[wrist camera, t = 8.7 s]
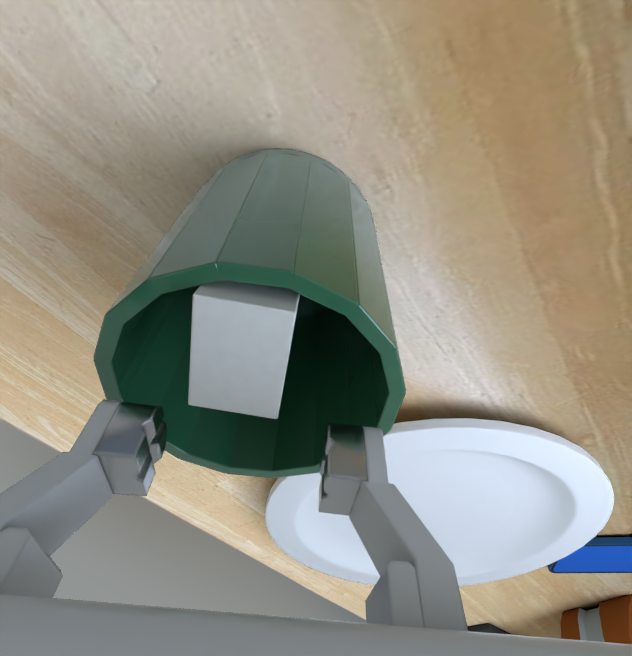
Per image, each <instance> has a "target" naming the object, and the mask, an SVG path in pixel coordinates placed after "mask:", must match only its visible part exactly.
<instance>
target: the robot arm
mask: <svg viewBox="0 0 632 656" xmlns="http://www.w3.org/2000/svg"><path fill="white" fill-rule="evenodd" d="M163 416H164V411H163V407H162V406H155V405H147V404H139V403H131V402H124V401H115V400H105V399H104V400H103V401H101V402H100V403H99V404H98V405H97V407H96V409H95V410H94V412H93V414H92V415H91V417H90V419H89V420H88V422H87V424H86V425H85V427H84V429H83V430H82V432H81V434H80V435H79V437H78V438H77V440H76V442H75V443H74V445H73V447H72V448H71V450H70V452H62V453H61V454H60V455H58V456H56V457H55V458H54V459H52V460H50V461H49V462H48V463H46V464H44V465H43V466H42V467H40V468H38V469H37V470H35V471H34V472H32V473H31V474H29V475H28V476H27V477H25V478H23V479H22V480H20V481H19V482H17V483H16V484H14V485H13V486H11V487H10V488H9V489H7V490H6V491H4V492H2V493H1V494H0V656H632V644H623V643H610V642H598V641H585V640H573V639H560V638H547V637H535V636H522V635H510V634H497V633H485V632H472V631H468V628H467V623H466V619H465V614H464V609H463V605H462V600H461V595H460V591H459V586H458V582H457V577H456V572H455V568H454V564H453V563H452V561H451V560H450V559H449V557H448V556H447V555H446V553H445V552H444V551H443V549H442V548H441V547H440V545H439V544H438V543H437V541H436V540H435V539H434V537H433V536H432V534H431V533H430V532H429V530H428V529H427V528H426V526H425V525H424V524H423V522H422V521H421V520H420V518H419V517H418V516H417V514H416V513H415V512H414V510H413V509H412V508H411V506H410V505H409V503H408V502H407V501H406V499H405V498H404V497H403V495H402V494H401V493H400V491H399V490H398V489H397V487H396V486H395V485H394V484H389V481H388V473H387V465H386V456H385V448H384V440H383V432H382V430H381V428H374V427H362V426H358V425H347V424H336V423H327V425H326V429H325V439H324V440H323V443H322V448H321V456H320V475H321V476H322V478H321V482H320V486H319V512H322V513H330V514H339V515H347V516H349V519H350V520H351V522H352V524H353V526H354V528H355V530H356V532H357V534H358V536H359V537H360V539H361V541H362V543H363V545H364V547H365V549H366V551H367V553H368V554H369V556H370V558H371V560H372V562H373V564H374V566H375V568H376V570H377V571H378V573H379V575H380V578H379V580H378V581H377V583H376V585H375V586H374V588H373V589H372V591H371V593H370V594H369V596H368V598H367V599H366V621H367V622H366V623H359V622H346V621H334V620H321V619H309V618H295V617H284V616H283V617H282V616H271V615H259V614H245V613H234V612H221V611H208V610H196V609H184V608H183V609H182V608H171V607H158V606H145V605H133V604H121V603H108V602H96V601H83V600H71V599H57V598H53V596H54V594H55V592H56V589H57V587H58V585H59V583H60V581H61V579H62V573H61V570H60V569H59V568H58V566H57V565H56V564H55V563H54V561H53V560H52V559H51V558H50V555H51V554H53V553H54V552H55V551H56V550H57V549H58V548H59V547H60V546H61V545H62V544H63V543H64V542H65V541H66V540H67V539H69V538H70V537H71V536H72V535H73V534H74V533H75V532H76V531H77V530H78V529H79V528H80V527H81V526H82V525H83V524H84V523H85V522H86V521H88V519H90V518H91V517H92V516H93V515H94V514H95V513H96V512H97V511H98V510H99V509H100V508H101V507H102V506H104V505H105V504H106V503H107V502H108V501H109V500H110V499H111V498H112V497H113V496H114V495H113V494H122V495H137V496H147V493H148V491H149V488H150V486H151V483H152V481H153V478H154V476H155V468H154V463H156V462H157V461H158V460H159V459H161V458H162V455H163V452H164V449H165V446H166V441H167V425H166V424H165V423H164V422H163V421H162V418H163Z"/></svg>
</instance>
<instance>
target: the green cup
mask: <svg viewBox="0 0 632 656" xmlns="http://www.w3.org/2000/svg"><path fill="white" fill-rule="evenodd" d="M220 280H222V281H230V282H239V283H247V284H256V285H264V286H272V287H281V288H288V289H290V290H292V291H294V292H297V293H299V294H300V298H299V304H298V309H297V315H296V320H295V326H294V331H293V337H292V342H291V348H290V354H289V359H288V365H287V370H286V376H285V381H284V387H283V392H282V398H281V404H280V409H279V415H278V418H277V419H272V418H266V417H260V416H254V415H248V414H242V413H235V412H229V411H223V410H217V409H211V408H205V407H199V406H192V405H189V404H188V393H189V370H190V347H191V324H192V301H193V294H194V293H195V291H196V290H197V289H198V288H199V287H200V286H201V285H203V284H207V283H212V282H216V281H220ZM94 363H95V366H96V369H97V372H98V375H99V378H100V381H101V384H102V387H103V390H104V393H105V396H106V399H107V400H115V401H124V402H131V403H139V404H147V405H155V406H162V407H163V411H164V416H163V418H162V421H163V422H164V423H165V424H166V425H167V441H166V446H165V449H164V450H165V451H167V452H168V453H170V454H172V455H174V456H175V457H177V458H180V459H181V460H184V461H187V462H190V463H194V464H197V465H200V466H203V467H206V468H210V469H213V470H216V471H219V472H222V473H227V474H234V475H245V476H255V477H265V478H281V477H289V476H297V475H305V474H313V473H319V472H320V456H321V448H322V443H323V440H324V439H325V429H326V425H327V423H336V424H347V425H358V426H362V427H374V428H381V430H382V432H383V437H384V436H385V435H386V434H387V433H388V432H389V431H391V429H392V427H393V424H394V422H395V419H396V416H397V414H398V411H399V409H400V406H401V404H402V401H403V399H404V396H405V394H406V388H405V382H404V377H403V372H402V367H401V362H400V356H399V351H398V346H397V341H396V336H395V330H394V325H393V320H392V315H391V310H390V304H389V299H388V294H387V289H386V283H385V278H384V273H383V268H382V263H381V257H380V252H379V247H378V242H377V237H376V232H375V227H374V222H373V217H372V213H371V210H370V209H369V207H368V204H367V202H366V200H365V198H364V197H363V195H362V193H361V192H360V190H359V189H358V188H357V186H356V185H355V184H354V183H353V182H352V180H351V179H350V178H348V177H347V176H346V175H345V174H344V173H343V172H342V171H341V170H339V169H338V168H336V167H335V166H334V165H332V164H331V163H329V162H327V161H325V160H323V159H321V158H319V157H317V156H314V155H311V154H308V153H306V152H301V151H296V150H292V149H265V150H260V151H255V152H251V153H248V154H245V155H243V156H240V157H238V158H236V159H234V160H233V161H231V162H229V163H227V164H226V165H225V166H223V167H222V168H221V169H220V170H218V171H217V172H216V173H215V174H214V176H213V177H212V178H211V179H210V180H209V181H208V182H207V183H206V184H205V185H204V186H203V187H202V188H201V189H200V190H199V191H198V193H197V194H196V195H195V197H194V198H193V199H192V201H191V202H190V203H189V204H188V206H187V207H186V208H185V210H184V211H183V212H182V214H181V215H180V216H179V218H178V219H177V220H176V222H175V223H174V224H173V226H172V227H171V228H170V230H169V231H168V232H167V233H166V235H165V236H164V237H163V239H162V240H161V241H160V243H159V244H158V245H157V247H156V248H155V249H154V251H153V252H152V253H151V255H150V256H149V257H148V259H147V260H146V261H145V263H144V264H143V265H142V266H141V268H140V269H139V270H138V272H137V273H136V274H135V276H134V277H133V278H132V280H131V281H130V282H129V284H128V285H127V286H126V288H125V289H124V290H123V292H122V293H121V294H120V295H119V297H118V298H117V299H116V301H115V302H114V303H113V305H112V306H111V307H110V309H109V310H108V311H107V313H106V314H105V316H104V320H103V323H102V327H101V331H100V334H99V338H98V342H97V346H96V349H95V353H94Z"/></svg>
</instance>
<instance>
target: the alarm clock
mask: <svg viewBox="0 0 632 656" xmlns="http://www.w3.org/2000/svg"><path fill="white" fill-rule="evenodd" d="M560 624H561V637H562V639H573V640H585V641H598V642H610V643H623V644H632V595H627V596H623V597H620V598H616V599H612V600H608V601H604V602H601V603H600V604H599V608H595V609H591V610H588V611H586V610H583V609H581V608H578V609H574V610H570V611H566V612H564V613H563V614H562V619H561V623H560Z"/></svg>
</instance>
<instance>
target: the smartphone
mask: <svg viewBox="0 0 632 656" xmlns="http://www.w3.org/2000/svg"><path fill="white" fill-rule="evenodd" d="M547 566H548V569H549V571H550V572H552V573H632V537H601V538H593V539H591V540H590V541H589V542H588V543H586V544H585V545H584V546H583V547H581V548H580V549H578V550H576V551H575V552H573V553H571V554H570V555H568V556H566V557H564V558H562V559H560V560H558V561H556V562H554V563H551V564H549V565H547Z"/></svg>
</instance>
